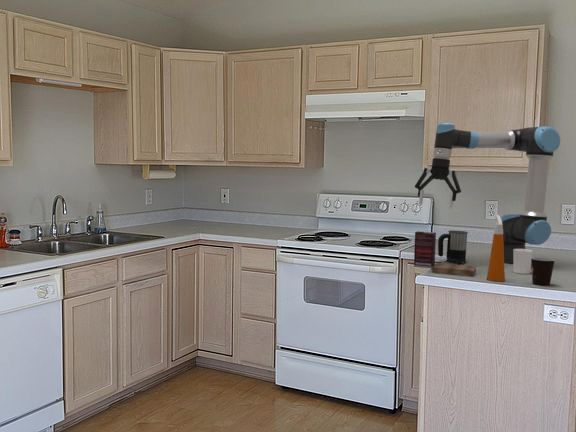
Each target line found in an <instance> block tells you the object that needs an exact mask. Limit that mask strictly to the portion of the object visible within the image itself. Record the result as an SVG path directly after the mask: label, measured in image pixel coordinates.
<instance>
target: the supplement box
mask: <svg viewBox="0 0 576 432" xmlns="http://www.w3.org/2000/svg"><path fill="white" fill-rule="evenodd" d="M436 242H437V232H433V231H431V232H430V231H420V230H419V231H414V250H413V251H414V254H413V256H414V257H413V261H414V262H413V267H414V268H420V269H421V268H423V269H424V268H426V269H432V267H433V266H434V265H435V264H436V245H437V244H436Z"/></svg>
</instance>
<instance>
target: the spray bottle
mask: <svg viewBox="0 0 576 432" xmlns="http://www.w3.org/2000/svg"><path fill="white" fill-rule="evenodd" d="M501 219H502V217H500V214H495V226H494V229H493V237H492V243H491V250H490V258H489V261H488V268H487V274H486V280H488V281H490V282H491V281H492V282H497V281H499V282H500V281H501V282H505V281H506V275H505V274H506V272H505V262H504V244H503V225H502V220H501Z"/></svg>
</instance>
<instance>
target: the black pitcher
mask: <svg viewBox="0 0 576 432" xmlns="http://www.w3.org/2000/svg"><path fill="white" fill-rule="evenodd" d="M447 231H448V233H442V234H441V235H440V236H439V237H438V238H437V250H438V251H437V255H438V256H439V257H443V256H444V240H445V239H447V244H446V245H447V246H446V255H445V257H446V260H445V261H446V262H448V263H451V264H455V265H465V263H467V242H468V233H469V232H468V231H464V230H447Z"/></svg>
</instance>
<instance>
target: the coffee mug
mask: <svg viewBox="0 0 576 432" xmlns="http://www.w3.org/2000/svg"><path fill="white" fill-rule="evenodd" d="M554 265H555V259H554V258H549V257H540V256H539V257H534V256H532V258H531V278H532V279H531V280H532V285H535V286H536V285H537V286H542V287H543V286H545V287H546V286H548V287H549V286H550V285H551V282H552V281H551V280H552V275H553V270H554Z"/></svg>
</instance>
